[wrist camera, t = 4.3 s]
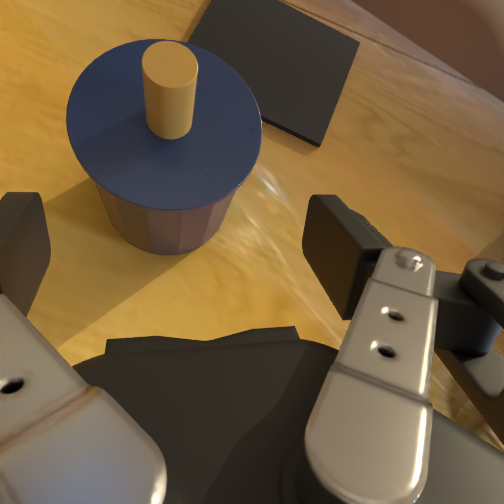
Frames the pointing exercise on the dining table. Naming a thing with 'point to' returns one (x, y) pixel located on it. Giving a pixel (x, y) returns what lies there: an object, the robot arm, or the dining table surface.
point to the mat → (280, 60)
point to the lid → (164, 125)
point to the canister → (165, 225)
